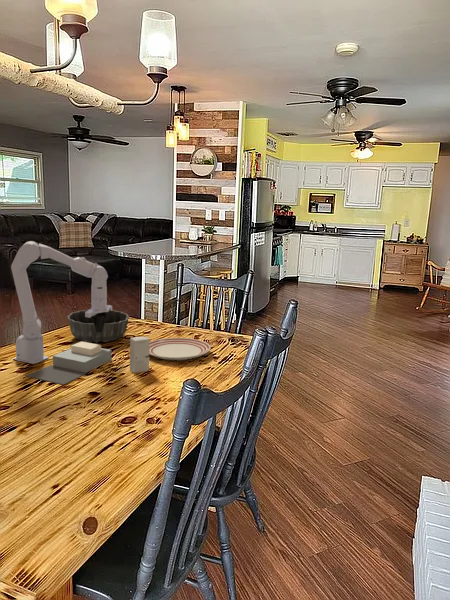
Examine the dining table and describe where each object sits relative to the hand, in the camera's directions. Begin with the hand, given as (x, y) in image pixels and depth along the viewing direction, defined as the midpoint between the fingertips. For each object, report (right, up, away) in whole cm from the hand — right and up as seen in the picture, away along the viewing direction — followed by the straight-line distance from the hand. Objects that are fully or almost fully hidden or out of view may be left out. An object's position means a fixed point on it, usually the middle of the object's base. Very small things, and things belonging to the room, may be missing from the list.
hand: (99, 331), depth 181 cm
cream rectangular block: (-3, -7, -6) cm, 10 cm away
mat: (-9, -14, -20) cm, 26 cm away
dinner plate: (+29, -10, +10) cm, 32 cm away
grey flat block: (-4, -11, -7) cm, 14 cm away
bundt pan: (-7, -5, +26) cm, 27 cm away
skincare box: (+18, -13, -11) cm, 25 cm away
